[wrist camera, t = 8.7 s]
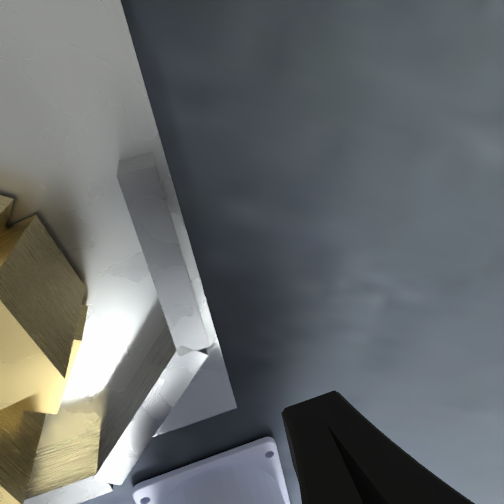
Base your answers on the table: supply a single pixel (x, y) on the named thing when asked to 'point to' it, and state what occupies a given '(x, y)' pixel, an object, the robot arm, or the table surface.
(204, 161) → the table surface
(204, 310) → the flange plate
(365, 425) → the robot arm
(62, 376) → the gold block ring
